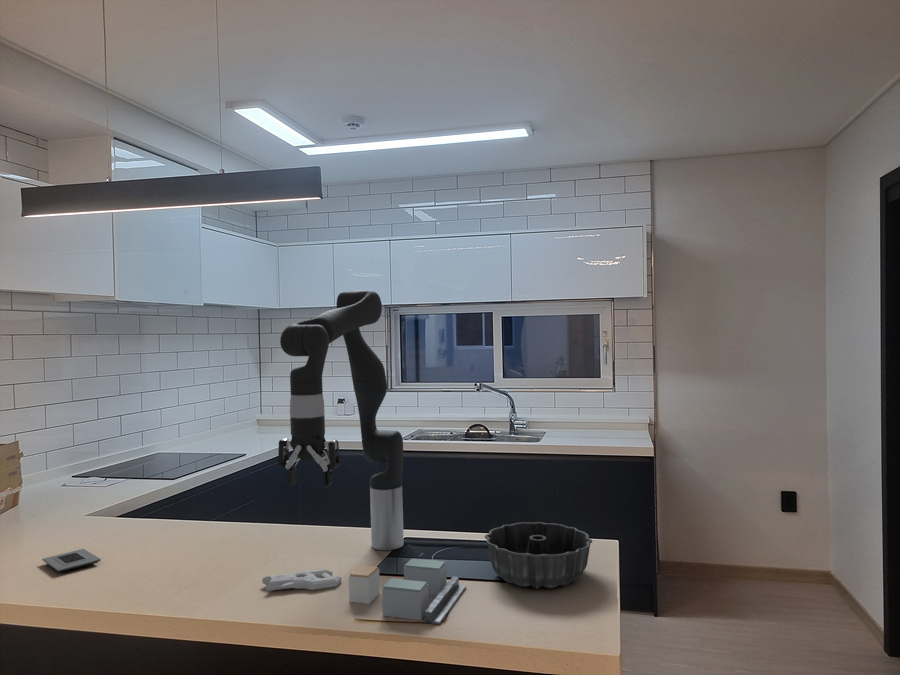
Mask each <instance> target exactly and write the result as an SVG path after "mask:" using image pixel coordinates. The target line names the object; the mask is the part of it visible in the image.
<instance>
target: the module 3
mask: <svg viewBox="0 0 900 675" xmlns="http://www.w3.org/2000/svg"><path fill="white" fill-rule="evenodd" d="M429 596H430V595H428V584H427V582H422V581H412V580H404V579H401V578H390V579H389V580H388V581H387V582H386V583H385V584H384V585H383V586H382V589H381V600H382V601H381V602H382V603H381V605H382V616H383V617H389V618H398V619H406V620H407V619H409V620H415V621H422V620H423V619H424V618H425V611H426V609H427V608H428V607H429V606H430V602H429V601H430V600H429V598H430V597H429Z"/></svg>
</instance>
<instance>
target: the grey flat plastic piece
mask: <svg viewBox="0 0 900 675" xmlns="http://www.w3.org/2000/svg"><path fill="white" fill-rule="evenodd" d="M340 583H342V577H341V576H340V575H339V576H338V575H337V576H333V571H332V570H331V571H330V570H328V569H323V568H322V569H321V568H320V569H314V570H306V571H298V572H292V573H284V574H277V575H269V576H265V577H263V578H262V584H264V585H265V590H266V591H268V592H272V591H279V590H288V589H295V590H308V591H319V590H325V589H330V588H331V589H332V588H336V587H337V586H338V585H339V584H340Z"/></svg>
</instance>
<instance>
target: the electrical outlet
mask: <svg viewBox="0 0 900 675" xmlns="http://www.w3.org/2000/svg"><path fill="white" fill-rule="evenodd" d="M41 560H42V561H43V562H44V563H45V564H47V565H48V566H50V567H51V568H52V569H54V570H56V571H57V572H58V573H64V572H68V571H71V570H76V569H79V568H83V567H87V566H91V565H93V564H98V563H99V562H100V561H101V560H102V559H101V558H100V557H98V556H97V555H95V554H93V553H91V552H90V551H88V550H87V549H85V548H81V549H77V550H72V551H69V552H65V553H60V554H57V555H52V556H48V557H43V558H41Z"/></svg>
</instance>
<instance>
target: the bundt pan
mask: <svg viewBox="0 0 900 675" xmlns="http://www.w3.org/2000/svg"><path fill="white" fill-rule="evenodd" d="M484 539H485V540H486V545H487V549H488V554H489V555H488V556H489V559H490V564H491V566H492V569H493V571H494V572H495V574H497V576H499V577H500V578H502V579H503V580H504V581H505V582H506V583H508V584H516V585H517V586H520V587H523V588H524V587H525V588H526V587H529V586H532V587H533V588H534V589H535V590H538V589H539V588H541V587H543V588H544V587H545V588H547V589H555V588H556V587H558V586H559V587H566V586H568V585H570V584H571V583H572V582H575V581H577V580H578V579H579V578H580V577H581V576H582V575H583V573H584V571H586V568H587V566H588V560H589V554H590V547H591V544H592V543H593V539H592V538H590V536H589V534H588V533H586V532H585V531H582V530H579V529H578V528H576V527H573V526H567V525H564V524H562V523H561V524H559V523H554V522H551V523H546V522H542V521H536V522H525V521H524V522H516V523H512V524H502V526H500V527H494V528H492V529H490V530H489V531H488V533H487V534H485V535H484Z"/></svg>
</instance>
